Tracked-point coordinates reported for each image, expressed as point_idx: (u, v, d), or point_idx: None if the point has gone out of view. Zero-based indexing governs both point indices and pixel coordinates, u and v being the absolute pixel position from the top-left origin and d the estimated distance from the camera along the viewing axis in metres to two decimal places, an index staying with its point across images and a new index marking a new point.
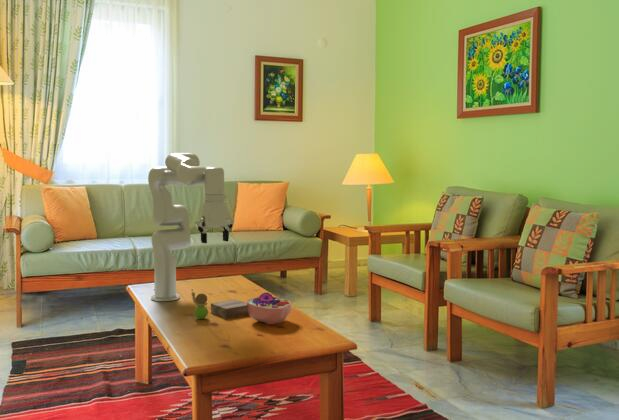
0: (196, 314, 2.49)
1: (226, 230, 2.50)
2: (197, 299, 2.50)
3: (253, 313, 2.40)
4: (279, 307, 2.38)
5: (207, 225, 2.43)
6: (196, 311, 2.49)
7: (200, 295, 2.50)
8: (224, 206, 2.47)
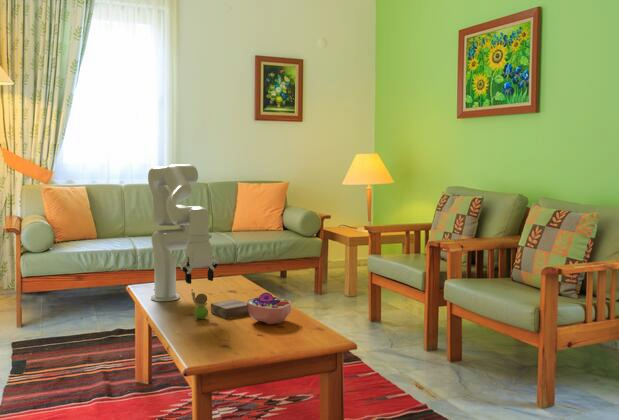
0: (196, 314, 2.49)
1: (211, 270, 2.52)
2: (197, 299, 2.50)
3: (253, 313, 2.40)
4: (279, 307, 2.38)
5: (191, 266, 2.45)
6: (196, 311, 2.49)
7: (200, 295, 2.50)
8: (209, 246, 2.49)
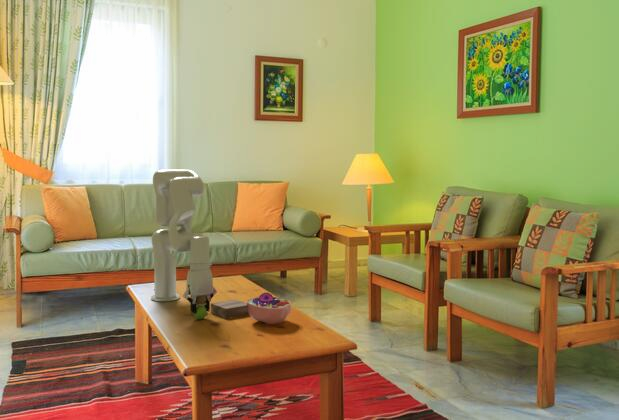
0: (195, 314, 2.48)
1: (207, 299, 2.51)
2: (196, 299, 2.49)
3: (253, 313, 2.40)
4: (279, 307, 2.38)
5: (192, 294, 2.46)
6: None
7: None
8: (209, 274, 2.50)
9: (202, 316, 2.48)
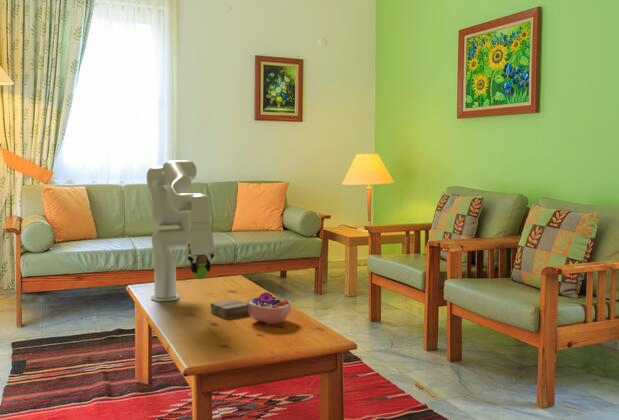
0: (195, 274, 2.47)
1: (207, 259, 2.50)
2: (196, 258, 2.48)
3: (253, 313, 2.40)
4: (279, 307, 2.38)
5: (192, 253, 2.45)
6: None
7: (199, 255, 2.48)
8: (210, 233, 2.49)
9: (202, 276, 2.48)
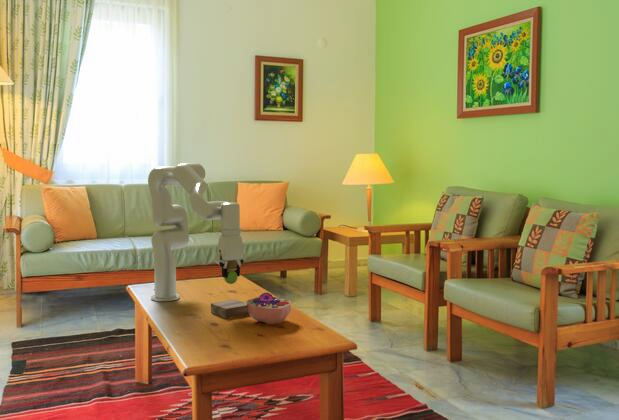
0: (226, 279, 2.56)
1: (237, 265, 2.59)
2: (227, 264, 2.57)
3: (253, 313, 2.40)
4: (279, 307, 2.38)
5: (224, 258, 2.54)
6: None
7: None
8: (240, 240, 2.58)
9: (233, 280, 2.56)
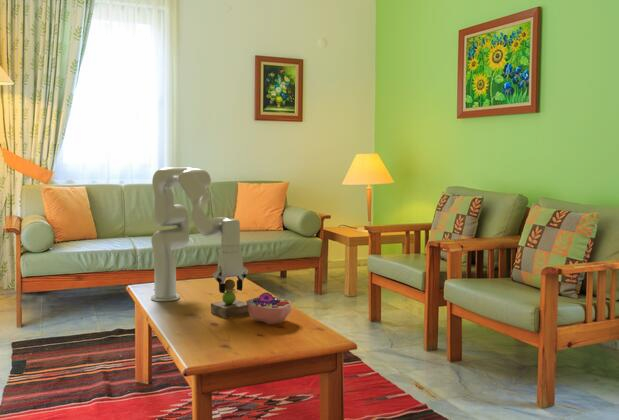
0: (224, 299, 2.57)
1: (240, 279, 2.61)
2: (225, 284, 2.58)
3: (253, 313, 2.40)
4: (279, 307, 2.38)
5: (224, 275, 2.54)
6: (224, 296, 2.57)
7: (228, 281, 2.58)
8: (240, 256, 2.58)
9: (230, 301, 2.57)
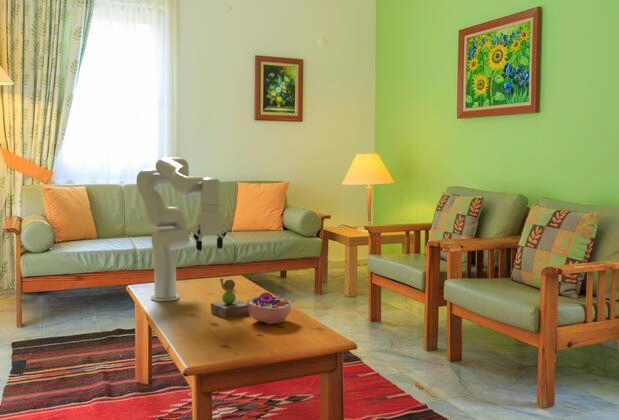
0: (224, 299, 2.57)
1: (220, 238, 2.62)
2: (225, 284, 2.58)
3: (253, 313, 2.40)
4: (279, 307, 2.38)
5: (202, 233, 2.55)
6: (224, 296, 2.57)
7: (228, 281, 2.58)
8: (219, 215, 2.59)
9: (230, 301, 2.57)
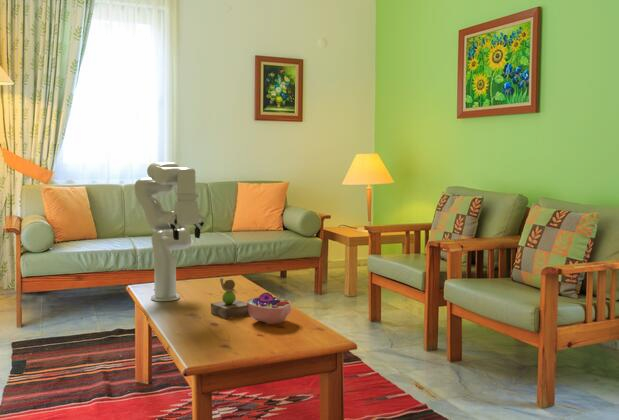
0: (224, 299, 2.57)
1: (197, 227, 2.65)
2: (225, 284, 2.58)
3: (253, 313, 2.40)
4: (279, 307, 2.38)
5: (179, 223, 2.58)
6: (224, 296, 2.57)
7: (228, 281, 2.58)
8: (195, 205, 2.62)
9: (230, 301, 2.57)
